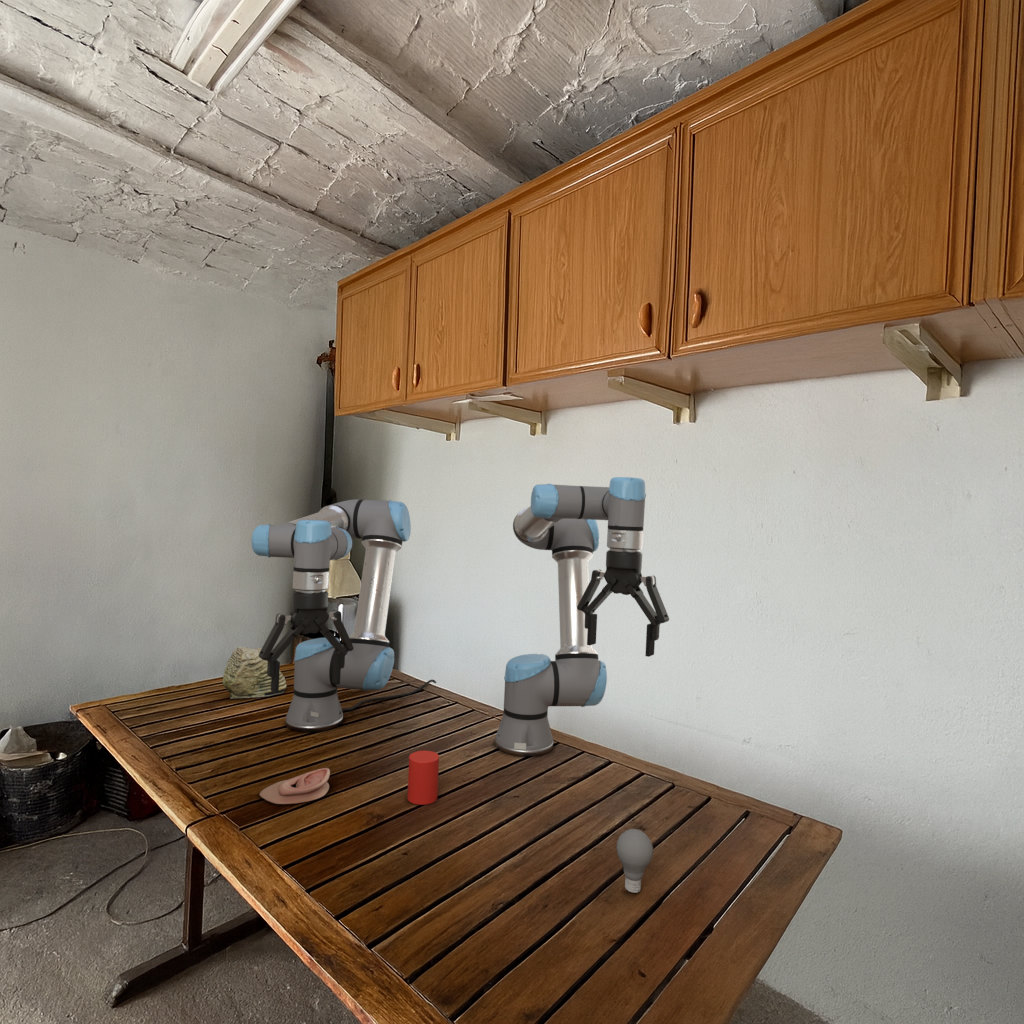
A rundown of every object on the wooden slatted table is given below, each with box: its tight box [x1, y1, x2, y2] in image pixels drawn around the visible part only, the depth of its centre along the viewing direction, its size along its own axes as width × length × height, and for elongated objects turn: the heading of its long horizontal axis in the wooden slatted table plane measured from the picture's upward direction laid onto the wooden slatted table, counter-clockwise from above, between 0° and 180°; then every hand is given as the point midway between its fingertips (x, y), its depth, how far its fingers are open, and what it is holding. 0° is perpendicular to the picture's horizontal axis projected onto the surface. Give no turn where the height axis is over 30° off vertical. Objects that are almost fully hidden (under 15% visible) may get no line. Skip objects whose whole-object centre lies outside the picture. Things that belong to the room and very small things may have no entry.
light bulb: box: [615, 828, 654, 894], centre depth 106 cm, size 6×6×10 cm
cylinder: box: [406, 750, 440, 806], centre depth 135 cm, size 6×6×9 cm
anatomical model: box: [259, 767, 331, 805], centre depth 135 cm, size 13×4×12 cm
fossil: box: [222, 646, 288, 699], centre depth 198 cm, size 9×18×15 cm, turn 132°
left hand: (306, 687), depth 139 cm, fingers open, 13 cm apart
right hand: (619, 649), depth 135 cm, fingers open, 13 cm apart
